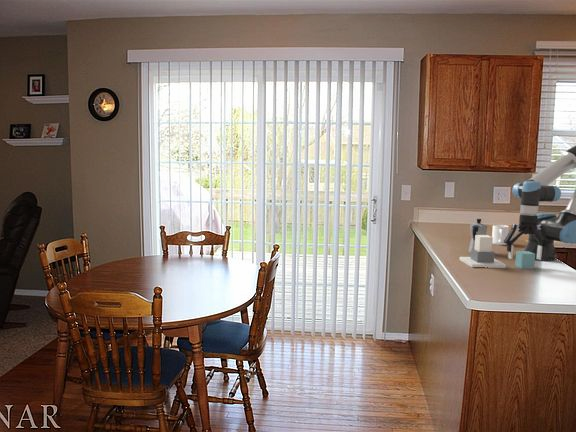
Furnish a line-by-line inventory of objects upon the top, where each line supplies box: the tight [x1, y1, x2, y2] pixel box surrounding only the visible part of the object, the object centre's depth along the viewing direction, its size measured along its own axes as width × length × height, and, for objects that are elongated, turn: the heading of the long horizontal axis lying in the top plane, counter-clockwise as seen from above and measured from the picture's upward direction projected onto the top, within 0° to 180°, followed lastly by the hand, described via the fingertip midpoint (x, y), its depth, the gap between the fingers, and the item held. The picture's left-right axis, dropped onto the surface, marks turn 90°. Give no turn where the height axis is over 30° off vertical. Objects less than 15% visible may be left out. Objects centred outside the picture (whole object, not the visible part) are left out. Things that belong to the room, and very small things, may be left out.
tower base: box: [459, 249, 507, 269], centre depth 236 cm, size 16×16×6 cm
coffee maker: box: [468, 218, 488, 253], centre depth 262 cm, size 15×9×18 cm, turn 144°
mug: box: [491, 224, 510, 246], centre depth 286 cm, size 9×12×11 cm
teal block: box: [514, 250, 536, 270], centre depth 231 cm, size 6×6×7 cm
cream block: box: [474, 234, 493, 252], centre depth 235 cm, size 6×6×7 cm
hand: (524, 259), depth 230 cm, fingers open, 13 cm apart
